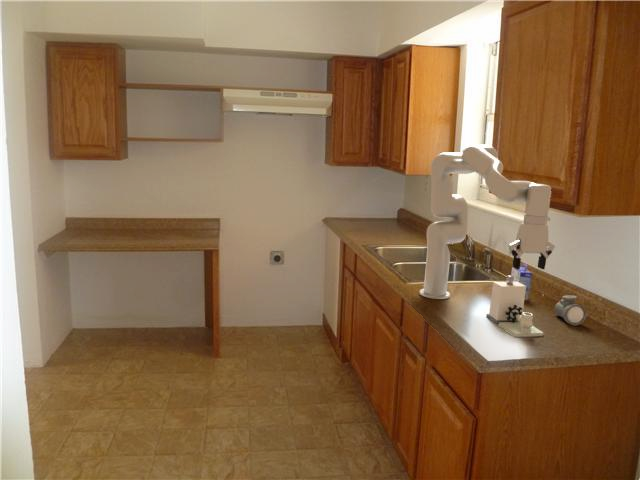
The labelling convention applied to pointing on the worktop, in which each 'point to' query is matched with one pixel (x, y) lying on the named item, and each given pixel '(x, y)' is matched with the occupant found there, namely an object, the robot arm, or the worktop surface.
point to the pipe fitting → (570, 310)
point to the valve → (521, 319)
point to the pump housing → (506, 299)
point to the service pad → (514, 329)
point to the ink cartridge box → (522, 278)
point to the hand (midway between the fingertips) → (528, 268)
